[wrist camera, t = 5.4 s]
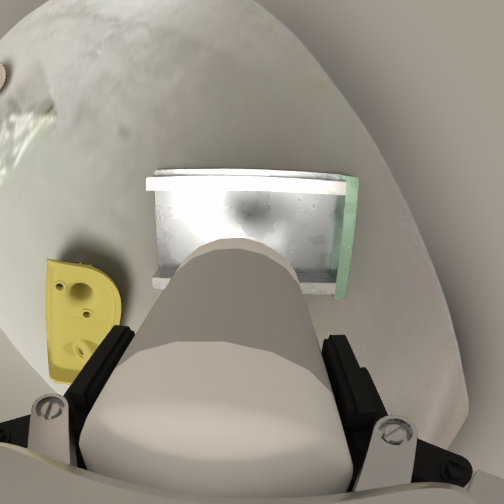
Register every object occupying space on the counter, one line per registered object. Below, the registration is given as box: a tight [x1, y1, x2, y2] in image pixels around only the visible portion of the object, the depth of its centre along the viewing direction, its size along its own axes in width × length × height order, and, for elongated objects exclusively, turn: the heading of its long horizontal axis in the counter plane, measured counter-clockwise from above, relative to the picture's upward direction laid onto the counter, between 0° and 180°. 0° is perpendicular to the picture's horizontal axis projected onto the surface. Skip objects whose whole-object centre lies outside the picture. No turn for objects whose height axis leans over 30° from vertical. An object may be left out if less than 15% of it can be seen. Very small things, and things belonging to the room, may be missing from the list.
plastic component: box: [46, 259, 121, 385], centre depth 32 cm, size 20×7×10 cm
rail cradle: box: [146, 169, 359, 299], centre depth 29 cm, size 12×19×4 cm, turn 88°
